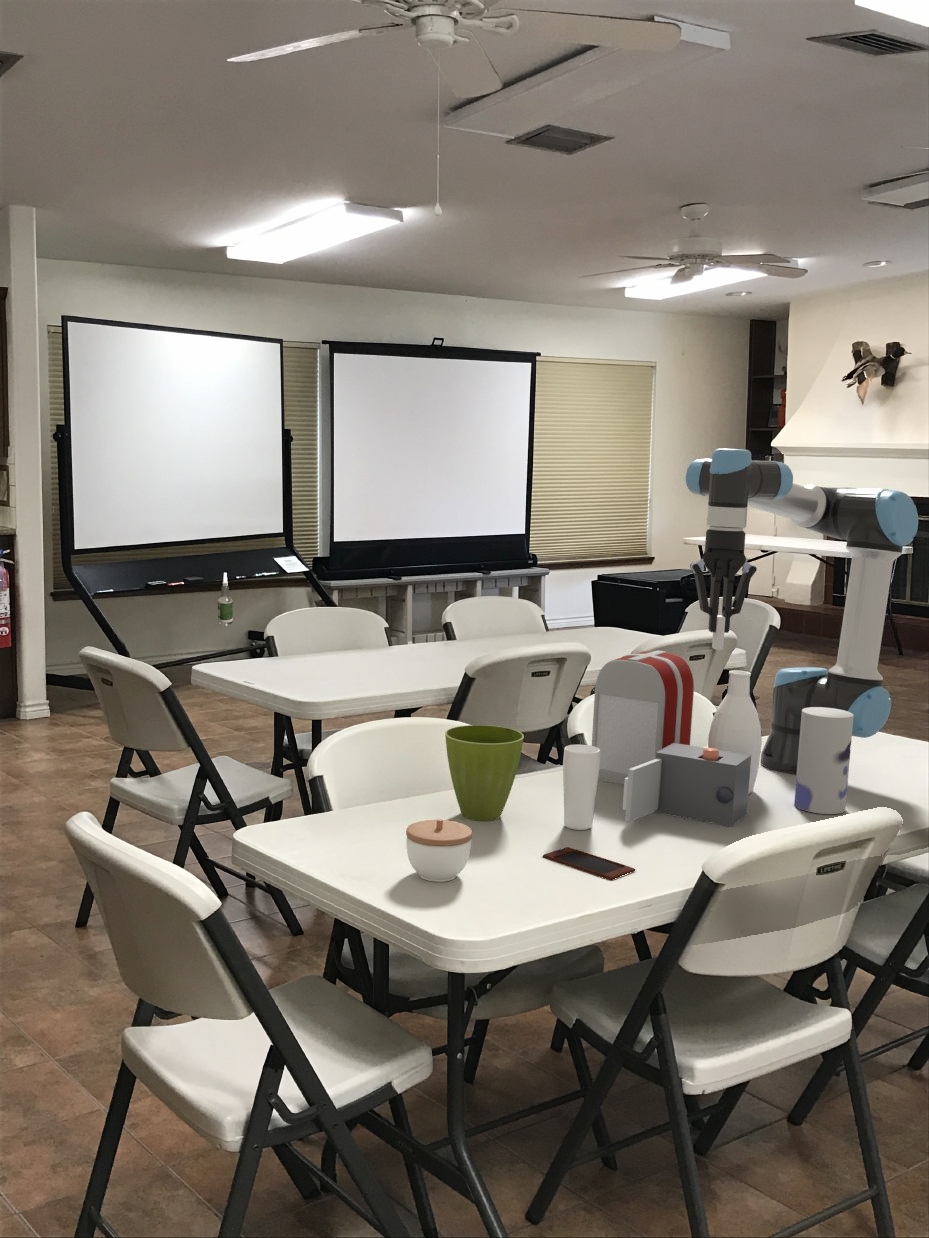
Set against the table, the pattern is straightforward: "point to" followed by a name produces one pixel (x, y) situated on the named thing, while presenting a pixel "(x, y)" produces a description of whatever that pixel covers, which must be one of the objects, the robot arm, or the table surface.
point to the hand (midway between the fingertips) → (717, 648)
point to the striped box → (640, 710)
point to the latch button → (711, 754)
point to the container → (823, 760)
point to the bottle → (738, 723)
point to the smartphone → (588, 863)
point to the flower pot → (483, 767)
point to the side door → (642, 789)
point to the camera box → (703, 784)
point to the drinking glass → (580, 785)
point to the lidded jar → (438, 848)
